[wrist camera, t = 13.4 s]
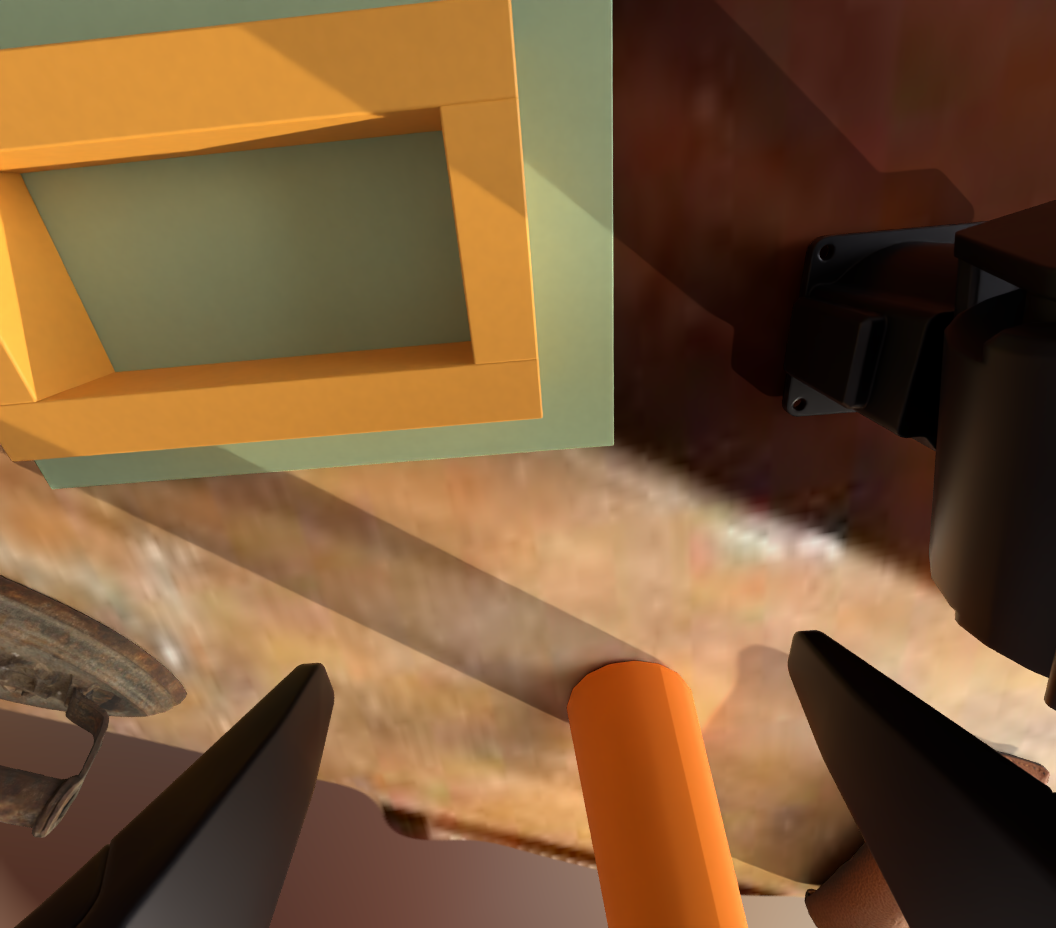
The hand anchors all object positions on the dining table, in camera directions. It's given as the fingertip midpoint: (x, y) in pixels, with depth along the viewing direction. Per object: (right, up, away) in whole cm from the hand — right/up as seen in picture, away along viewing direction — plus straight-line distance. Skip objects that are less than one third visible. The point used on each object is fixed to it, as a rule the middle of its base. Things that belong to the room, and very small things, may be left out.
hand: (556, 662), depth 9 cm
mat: (-10, +11, +8) cm, 17 cm away
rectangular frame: (-9, +11, +8) cm, 16 cm away
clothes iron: (-24, -6, +17) cm, 30 cm away
